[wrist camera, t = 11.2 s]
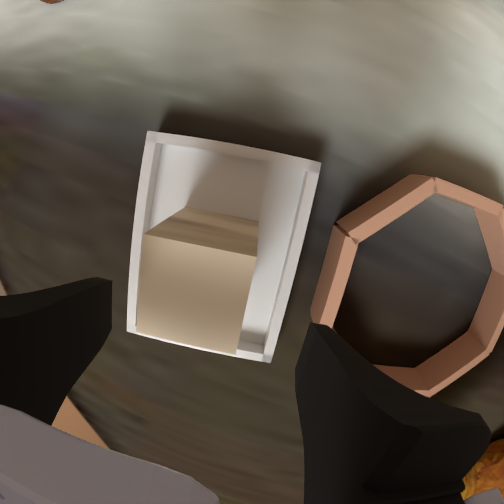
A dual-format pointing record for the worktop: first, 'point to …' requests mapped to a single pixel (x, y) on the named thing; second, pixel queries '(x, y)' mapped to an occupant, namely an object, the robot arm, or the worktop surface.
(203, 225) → the beech peg
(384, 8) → the worktop surface
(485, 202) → the pinkish-brown octagonal ring
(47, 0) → the sauce bottle
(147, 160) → the tray
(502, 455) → the croissant
